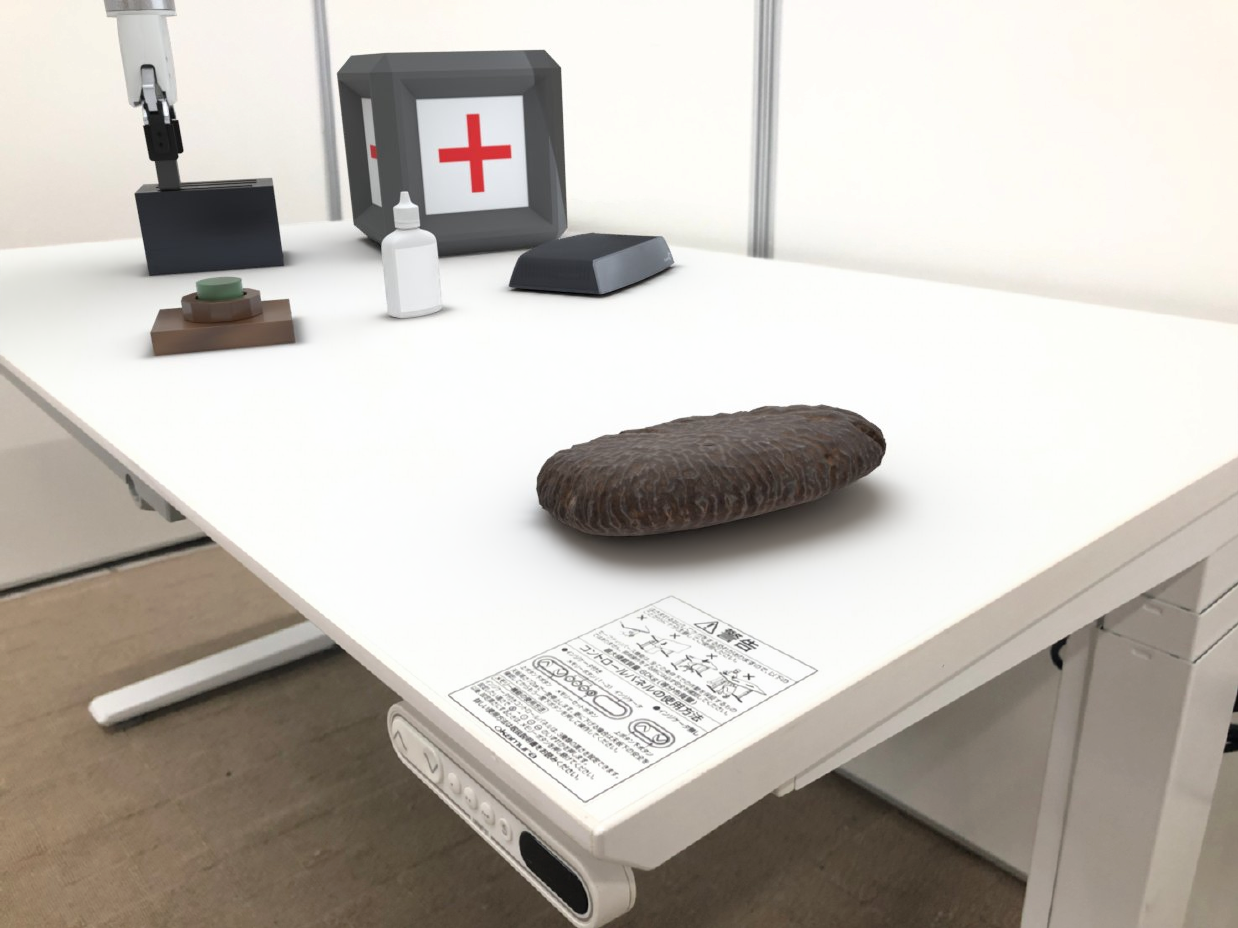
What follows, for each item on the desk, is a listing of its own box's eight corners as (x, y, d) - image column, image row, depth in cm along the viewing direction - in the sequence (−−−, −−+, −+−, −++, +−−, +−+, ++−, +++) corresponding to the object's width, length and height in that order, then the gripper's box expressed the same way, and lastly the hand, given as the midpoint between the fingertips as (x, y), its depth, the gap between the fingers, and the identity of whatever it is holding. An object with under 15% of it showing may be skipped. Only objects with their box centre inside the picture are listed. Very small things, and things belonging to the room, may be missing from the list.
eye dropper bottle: (446, 315, 106) (436, 192, 101) (389, 320, 104) (376, 196, 100) (440, 306, 110) (430, 188, 105) (385, 311, 108) (372, 191, 104)
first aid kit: (352, 238, 155) (331, 56, 146) (512, 224, 165) (502, 52, 156) (392, 263, 134) (371, 52, 125) (574, 246, 144) (566, 49, 135)
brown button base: (154, 356, 93) (146, 312, 92) (163, 331, 102) (155, 290, 101) (295, 343, 96) (289, 300, 95) (292, 320, 105) (286, 280, 104)
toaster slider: (159, 189, 128) (151, 146, 126) (160, 187, 129) (153, 145, 128) (180, 188, 128) (173, 145, 127) (181, 186, 130) (174, 144, 128)
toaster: (149, 276, 130) (133, 192, 126) (156, 262, 140) (142, 183, 136) (284, 266, 134) (273, 184, 131) (282, 253, 144) (272, 176, 141)
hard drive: (680, 267, 127) (680, 233, 126) (607, 299, 111) (606, 260, 110) (585, 261, 133) (584, 228, 131) (502, 290, 117) (499, 253, 115)
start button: (197, 305, 96) (194, 286, 95) (199, 297, 99) (196, 278, 99) (244, 301, 97) (241, 282, 96) (244, 293, 100) (241, 275, 100)
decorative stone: (756, 435, 70) (758, 361, 68) (925, 501, 59) (933, 416, 57) (497, 505, 60) (491, 421, 58) (643, 601, 49) (641, 501, 47)
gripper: (113, 7, 128) (141, 153, 134) (94, -1, 113) (126, 165, 119) (179, 6, 130) (203, 150, 137) (169, -2, 115) (196, 161, 121)
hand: (167, 157), depth 128 cm, fingers open, 9 cm apart
